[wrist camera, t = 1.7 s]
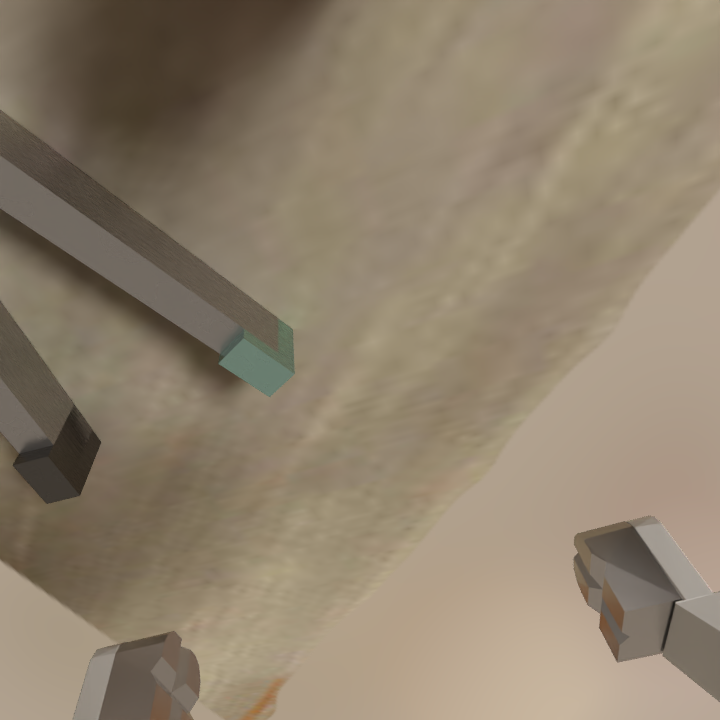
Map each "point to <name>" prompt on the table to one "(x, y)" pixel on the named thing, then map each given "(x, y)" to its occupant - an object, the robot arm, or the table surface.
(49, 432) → the tongs base
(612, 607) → the robot arm
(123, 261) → the bar
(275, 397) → the table surface
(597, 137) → the table surface
